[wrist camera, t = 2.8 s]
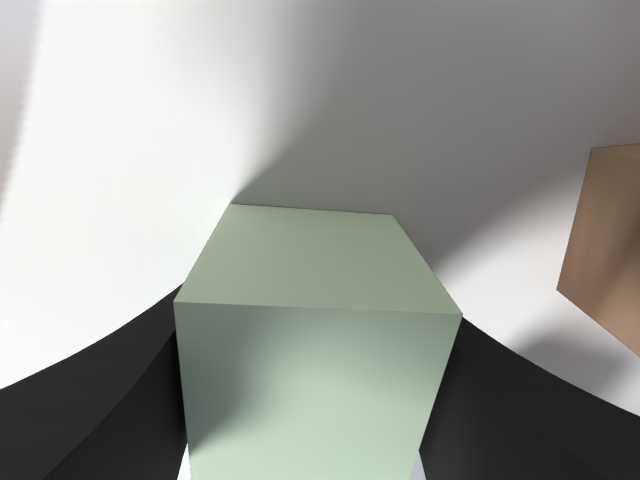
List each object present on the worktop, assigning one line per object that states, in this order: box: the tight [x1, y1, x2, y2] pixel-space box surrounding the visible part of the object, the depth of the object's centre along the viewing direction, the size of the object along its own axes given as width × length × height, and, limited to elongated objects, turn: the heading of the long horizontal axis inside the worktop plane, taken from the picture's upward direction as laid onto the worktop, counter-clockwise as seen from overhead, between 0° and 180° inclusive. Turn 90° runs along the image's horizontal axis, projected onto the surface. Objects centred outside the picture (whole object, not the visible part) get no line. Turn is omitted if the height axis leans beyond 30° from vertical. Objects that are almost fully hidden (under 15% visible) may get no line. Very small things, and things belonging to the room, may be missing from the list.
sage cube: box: [173, 204, 463, 480], centre depth 9 cm, size 5×5×5 cm
